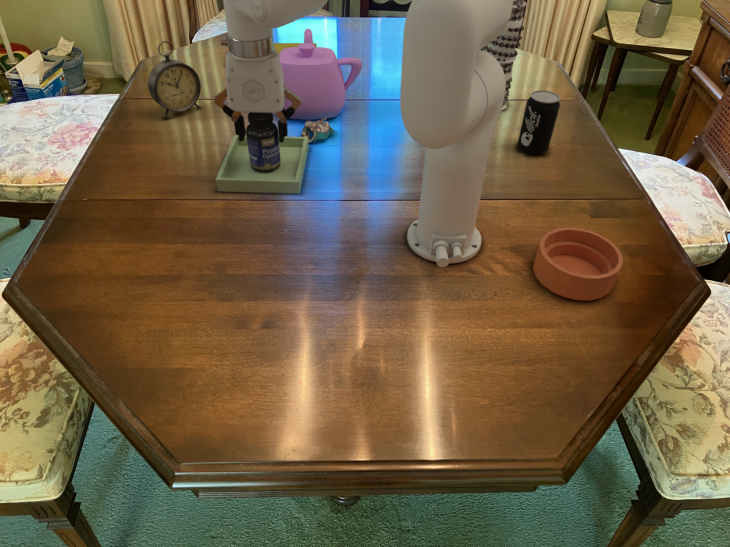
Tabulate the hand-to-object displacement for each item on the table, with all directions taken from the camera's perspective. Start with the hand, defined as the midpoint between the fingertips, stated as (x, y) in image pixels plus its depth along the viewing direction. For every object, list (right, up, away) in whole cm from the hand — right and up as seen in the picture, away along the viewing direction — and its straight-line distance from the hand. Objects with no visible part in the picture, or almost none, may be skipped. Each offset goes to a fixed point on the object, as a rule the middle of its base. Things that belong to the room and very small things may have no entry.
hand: (262, 138), depth 107 cm
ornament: (+9, +4, +15) cm, 18 cm away
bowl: (+53, -27, -18) cm, 62 cm away
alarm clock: (-24, +11, +23) cm, 35 cm away
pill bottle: (0, -5, +4) cm, 6 cm away
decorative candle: (+51, +15, +29) cm, 60 cm away
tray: (0, -5, +5) cm, 7 cm away
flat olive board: (-6, +34, +49) cm, 60 cm away
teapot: (+6, +13, +26) cm, 29 cm away
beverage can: (+56, +1, +13) cm, 57 cm away
